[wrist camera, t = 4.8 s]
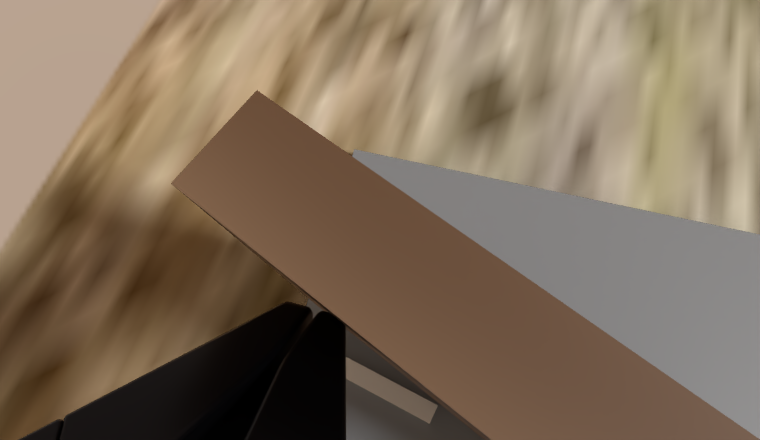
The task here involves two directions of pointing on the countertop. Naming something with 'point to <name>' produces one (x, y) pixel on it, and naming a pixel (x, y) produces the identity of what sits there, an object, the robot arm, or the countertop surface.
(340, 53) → the countertop surface
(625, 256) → the slate base
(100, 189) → the countertop surface
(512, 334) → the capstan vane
